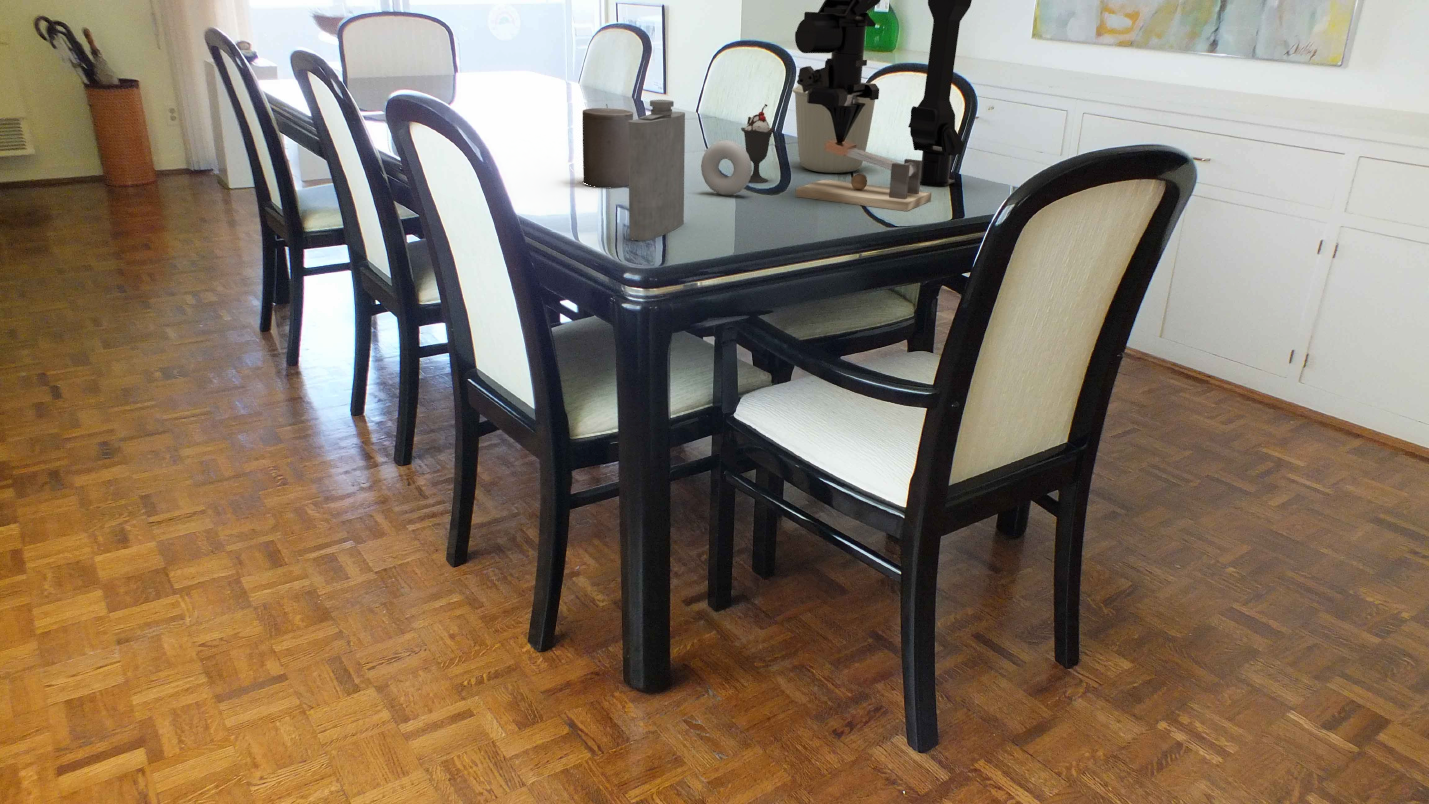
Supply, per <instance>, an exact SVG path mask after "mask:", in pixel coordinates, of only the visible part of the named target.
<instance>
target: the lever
mask: <svg viewBox="0 0 1429 804" xmlns="http://www.w3.org/2000/svg"><path fill="white" fill-rule="evenodd" d="M856 146H857V144H854V143H851V142H848V141H844V142H842V143H840V142H837V140H836V139H833V140H829V141H826V145H825V149H824V150H827V151H830V152H833V153H835V154H838V155H841V156H846V155H847V156H850V157H853V158H856V159H859V160H861V161H863V163H864V162H865V163H867V164H871V165H874V166H876V167H879V168H881V169H882V168H883V169H885V170H889V171H891V168H892V163H899V164H902V163H900V162H898V161H895V160H892V159H888V158H885V157H883V156H880V155H877V154H873V153H871V152H868V151H866V152H865V151H862V150H859V149H856ZM906 164H908V165H910V169H909V177H910V176H912V175H914V174H916V172H917V166H916V164H915V163H913V162H909V163H906Z"/></svg>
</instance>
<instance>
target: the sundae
mask: <svg viewBox="0 0 1429 804" xmlns="http://www.w3.org/2000/svg"><path fill="white" fill-rule="evenodd" d="M767 107H768V104H767V103H764V106H763V107H762V108H761V111H759V112H758V114H757V113H756V114H755V115H752V117H751V116H747V122H746V125H745V127H741V128H740V130H741V132H743V134H744V141H745V142H744V143H745V151H746V152H747V153H748V155H749V158H750V160H751V163H753V169H752V173H751V178H750V180H749V182H748V183H753V184H759V183H760V184H762V183H767V182H769V180H768V179H767V178H765V177H763V176H761V174H760V164H761V162H763V161H764V160H765V159H766V158H767V155H768V151H769V146H770V141H771V137H772V134H773V133H774V132H775V131H776V128H772V127H770V124H769V122H768V121H767V119H766V116H765V112H764V110H765V109H766V108H767Z"/></svg>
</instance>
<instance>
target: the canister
mask: <svg viewBox="0 0 1429 804" xmlns="http://www.w3.org/2000/svg"><path fill="white" fill-rule="evenodd" d="M791 91H792V92H793V94H794V96H795V97H794V99H795V116H796V136H797V148H798V149H797V150H798V151H797V152H798V158H799V163H800V164H801V165H802V167H803V168H804V169H806V170H808V171H812V172H818V173H827V174H845V173H852V172H855V171H857V170H858V169H860V168H861V166H862V165H863V163H864V161H861V160H859V159H856V158H853V157H850V156H847V155H846V156H841V155H838V154H835V153H833V152H830V151H827V150H824V149H825V145H826V141H829V140H833V139H836V135H835V131H834V126H833V121H832V117H831V114H830V112H829V111H828V110H827V109H826V108H825V107H824V106H822V105H819V104H809V103H807V93H808V91H807V92H805V93H803V89H802V86H801V85H799V84H798V85H797V86H796V87H793V88H792V89H791ZM857 99H859V103H865V106H864V107H863V108H862V110H861V112H860V113H859V115H858V117H857V118H856V120H855V122H854V124H853V126H852V127H851V129H850V131H849V133H848V135H847V137H846V139H845V141H848V142H851V143H854V144H857V146H856V149H859V150H862V151H865V152H867V151H866V150H867V145H868V143H869V137H870V131H871V127H872V126H871V125H872V119H873V115H874V109H875V103H876V100H870V98H859V97H857Z"/></svg>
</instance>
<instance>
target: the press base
mask: <svg viewBox="0 0 1429 804" xmlns="http://www.w3.org/2000/svg"><path fill="white" fill-rule="evenodd" d="M903 161H904V163H901V164H899V163H900V162H898V163H892V168H891V170H890V182H889V186H888V187H887V186H880V185H872V184H868V178H867V176H866V175H865V174H863V173H861V172H860V173H856V174H854V175H852V177H851V179H850V182H848V181H839V180H832V179H831V180H830V179H826V178H825V179H821V180H819V181H815V182H811V183H808V184H806V185H802V186H799V187H796V188H795V197H797V198H804V199H813V200H819V201H820V200H821V201H826V202H835V203H842V204H849V205H850V204H851V205H857V206H865V207H873V208H879V209H886V210H888V209H889V210H895V211H904V212H908V211H910V210H913V209H915V208H917V207H919V206H922V205H925V204H927V203H928V202H931V201H932V192H930V191H921V190H920V187H921V184H920V177H921V167H922V159H921V160H919V159H913V158H912V159H911V158H906V159H904V160H903ZM909 162H913V163H915V164H916V166H917V172H916V174H914V175H912V176H910V177H909V169H910V165H908V164H906V163H909Z"/></svg>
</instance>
